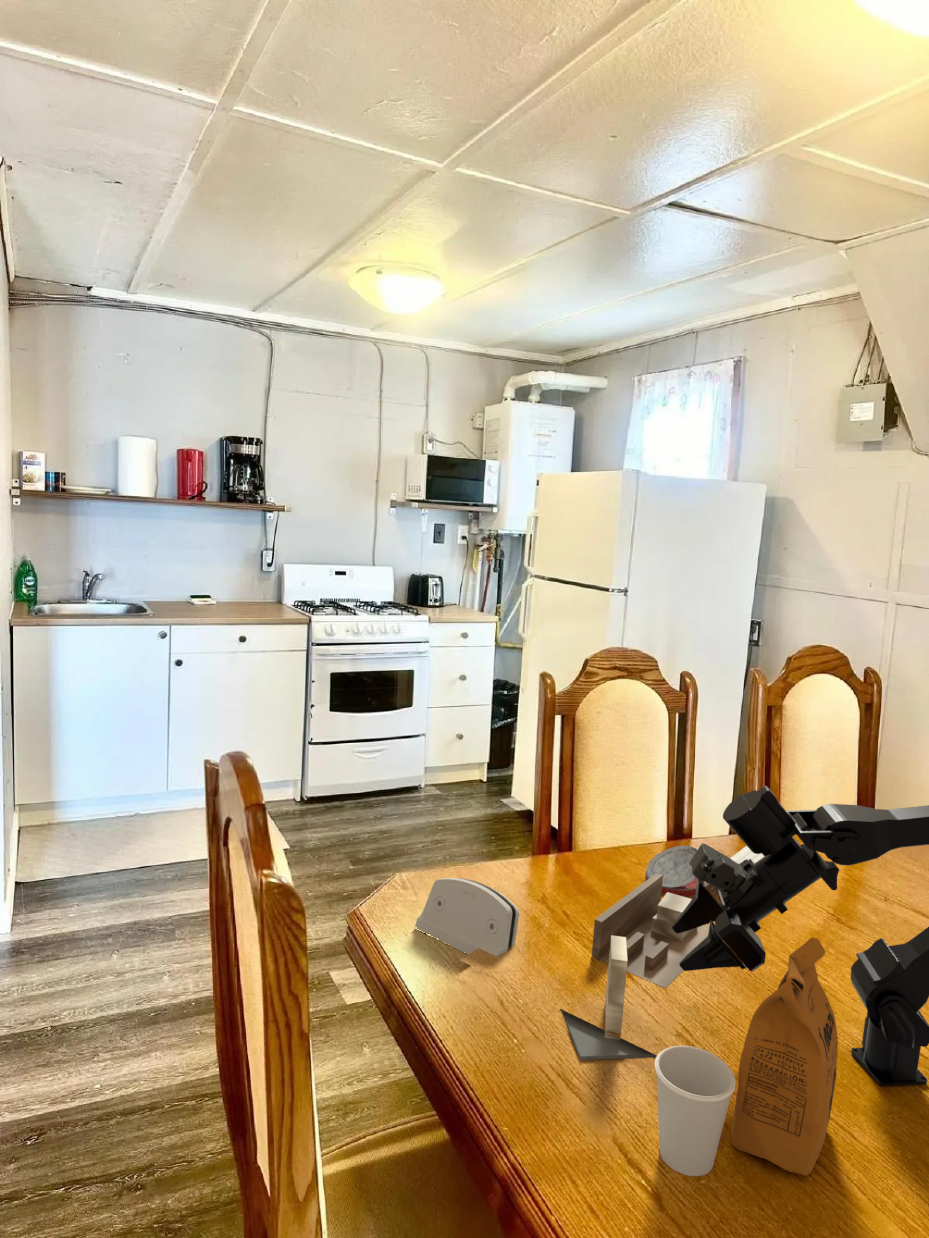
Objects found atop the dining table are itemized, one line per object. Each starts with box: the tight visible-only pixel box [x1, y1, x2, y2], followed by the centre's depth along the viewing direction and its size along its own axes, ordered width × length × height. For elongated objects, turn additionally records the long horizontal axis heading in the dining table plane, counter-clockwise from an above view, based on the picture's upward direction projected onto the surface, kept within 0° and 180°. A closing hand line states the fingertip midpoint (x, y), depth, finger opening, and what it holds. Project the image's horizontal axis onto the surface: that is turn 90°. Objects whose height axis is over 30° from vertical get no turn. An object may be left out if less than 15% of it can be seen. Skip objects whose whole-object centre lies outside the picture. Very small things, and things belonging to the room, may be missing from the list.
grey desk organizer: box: [591, 873, 710, 989], centre depth 128 cm, size 12×22×8 cm, turn 142°
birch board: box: [604, 935, 628, 1040], centre depth 107 cm, size 2×6×11 cm, turn 171°
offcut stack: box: [651, 892, 696, 942], centre depth 132 cm, size 6×7×4 cm
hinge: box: [414, 877, 520, 958], centre depth 128 cm, size 17×5×10 cm, turn 52°
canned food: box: [644, 845, 698, 898], centre depth 149 cm, size 11×10×10 cm
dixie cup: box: [654, 1045, 737, 1177], centre depth 87 cm, size 8×8×10 cm
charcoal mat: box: [560, 1008, 658, 1061], centre depth 108 cm, size 12×12×1 cm
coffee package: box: [731, 937, 839, 1177], centre depth 89 cm, size 10×12×22 cm
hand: (677, 948), depth 106 cm, fingers open, 9 cm apart
